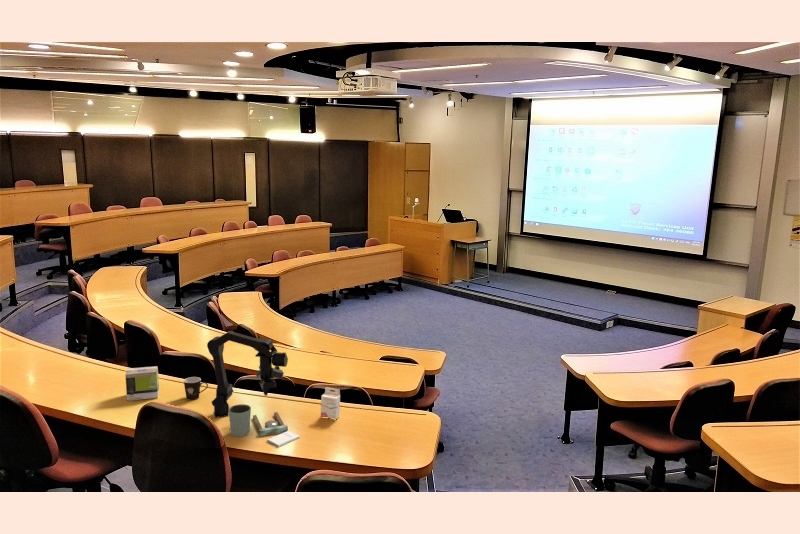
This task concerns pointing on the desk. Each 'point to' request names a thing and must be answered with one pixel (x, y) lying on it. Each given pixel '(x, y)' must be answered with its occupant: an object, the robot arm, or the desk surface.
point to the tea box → (142, 383)
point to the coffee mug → (193, 387)
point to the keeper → (271, 424)
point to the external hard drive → (283, 438)
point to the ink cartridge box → (330, 403)
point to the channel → (271, 430)
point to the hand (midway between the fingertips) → (265, 395)
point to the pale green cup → (239, 420)
